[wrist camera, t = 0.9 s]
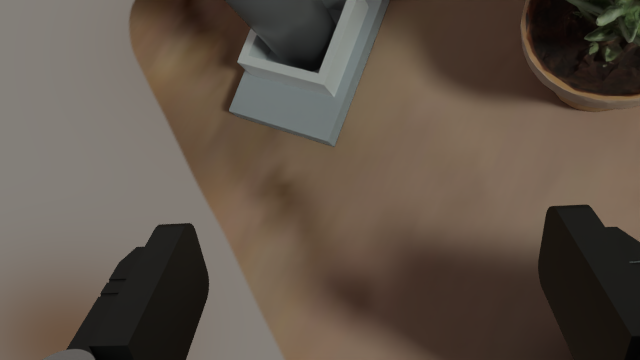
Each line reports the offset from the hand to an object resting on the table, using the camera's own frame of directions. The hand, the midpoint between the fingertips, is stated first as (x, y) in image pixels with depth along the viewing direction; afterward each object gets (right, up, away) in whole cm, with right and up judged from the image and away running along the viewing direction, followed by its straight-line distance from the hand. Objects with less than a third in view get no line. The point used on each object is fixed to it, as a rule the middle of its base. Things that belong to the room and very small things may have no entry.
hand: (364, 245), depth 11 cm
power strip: (0, +15, +29) cm, 32 cm away
